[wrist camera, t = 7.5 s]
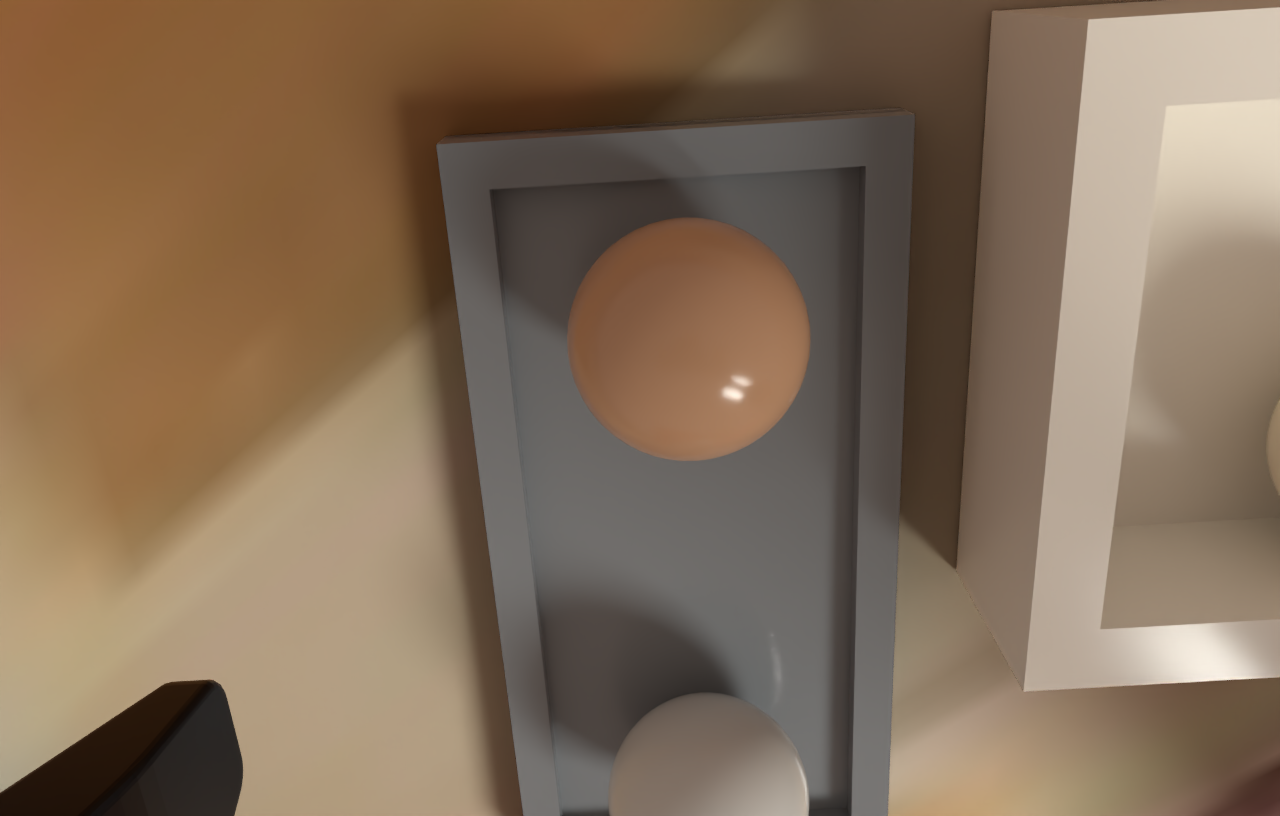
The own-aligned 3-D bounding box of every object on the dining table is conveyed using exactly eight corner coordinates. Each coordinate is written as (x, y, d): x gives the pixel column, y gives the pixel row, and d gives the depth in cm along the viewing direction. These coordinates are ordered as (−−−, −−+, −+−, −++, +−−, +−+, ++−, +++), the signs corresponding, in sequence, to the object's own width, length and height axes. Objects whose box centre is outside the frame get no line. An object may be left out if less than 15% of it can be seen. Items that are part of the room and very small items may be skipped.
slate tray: (876, 816, 24) (886, 849, 24) (533, 836, 25) (530, 869, 24) (900, 107, 18) (915, 114, 17) (445, 136, 18) (435, 144, 18)
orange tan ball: (792, 400, 20) (830, 496, 16) (581, 412, 20) (571, 511, 16) (791, 188, 18) (832, 241, 15) (563, 203, 18) (548, 259, 15)
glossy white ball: (793, 796, 24) (825, 949, 20) (615, 806, 24) (614, 960, 20) (792, 647, 22) (827, 782, 18) (602, 658, 22) (598, 794, 18)
